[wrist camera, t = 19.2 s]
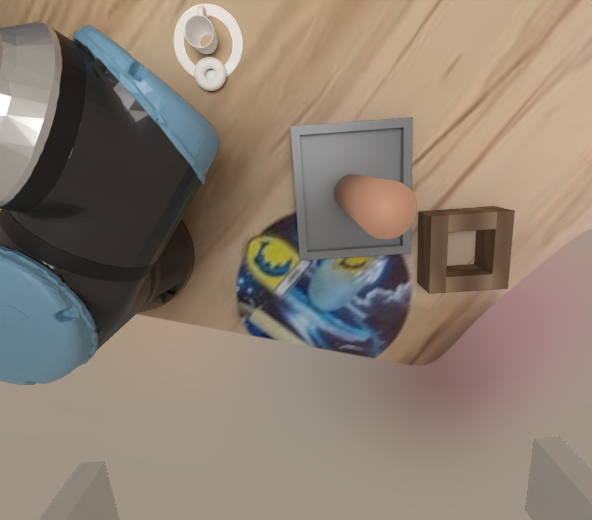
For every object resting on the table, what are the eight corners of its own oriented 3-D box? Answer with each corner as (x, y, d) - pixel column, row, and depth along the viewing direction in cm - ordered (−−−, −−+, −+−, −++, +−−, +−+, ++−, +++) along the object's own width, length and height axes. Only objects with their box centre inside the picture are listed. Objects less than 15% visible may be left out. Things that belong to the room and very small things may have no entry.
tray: (299, 255, 47) (299, 260, 44) (290, 128, 43) (290, 126, 40) (404, 248, 47) (410, 253, 44) (406, 120, 42) (412, 117, 40)
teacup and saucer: (225, 100, 42) (218, 94, 38) (163, 70, 42) (149, 60, 38) (254, 26, 40) (249, 10, 36) (189, -8, 39) (177, -28, 36)
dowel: (334, 211, 44) (358, 241, 27) (333, 175, 43) (357, 182, 26) (369, 209, 44) (416, 237, 27) (369, 173, 43) (417, 178, 26)
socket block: (417, 282, 48) (429, 293, 43) (418, 211, 45) (431, 216, 41) (488, 277, 48) (507, 288, 43) (493, 206, 45) (514, 210, 41)
